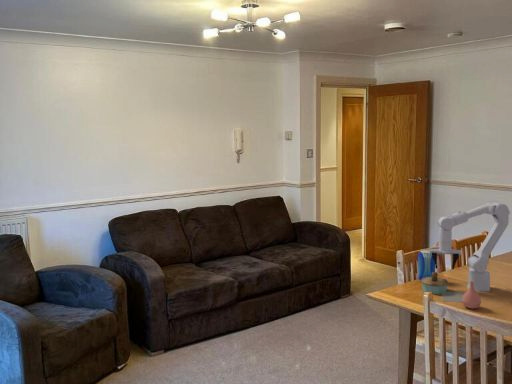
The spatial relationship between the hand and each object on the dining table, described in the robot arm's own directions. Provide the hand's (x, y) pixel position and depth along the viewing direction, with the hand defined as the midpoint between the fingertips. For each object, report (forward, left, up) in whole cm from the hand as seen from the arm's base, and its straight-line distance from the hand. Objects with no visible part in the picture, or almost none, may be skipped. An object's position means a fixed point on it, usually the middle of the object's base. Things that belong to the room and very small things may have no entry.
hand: (444, 268), depth 245 cm
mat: (-5, +12, -10) cm, 17 cm away
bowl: (+5, +4, -10) cm, 12 cm away
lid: (+5, +4, -6) cm, 9 cm away
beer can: (+8, -11, -11) cm, 17 cm away
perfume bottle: (-9, +25, -11) cm, 29 cm away
